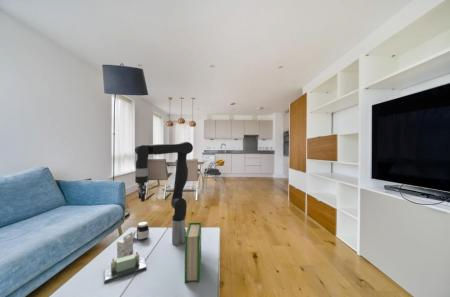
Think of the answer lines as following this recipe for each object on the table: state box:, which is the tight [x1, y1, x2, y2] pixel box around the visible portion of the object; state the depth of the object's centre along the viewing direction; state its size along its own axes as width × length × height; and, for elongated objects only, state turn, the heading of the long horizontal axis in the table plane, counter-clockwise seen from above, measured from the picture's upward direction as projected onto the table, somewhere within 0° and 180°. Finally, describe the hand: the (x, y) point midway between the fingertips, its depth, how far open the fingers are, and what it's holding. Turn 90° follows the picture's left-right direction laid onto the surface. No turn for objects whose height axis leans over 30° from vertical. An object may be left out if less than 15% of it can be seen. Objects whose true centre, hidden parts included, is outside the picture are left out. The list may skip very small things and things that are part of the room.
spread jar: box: [133, 221, 150, 241], centre depth 141 cm, size 12×11×12 cm
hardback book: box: [184, 222, 202, 284], centre depth 103 cm, size 18×7×24 cm, turn 4°
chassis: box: [103, 251, 147, 284], centre depth 104 cm, size 20×12×8 cm, turn 124°
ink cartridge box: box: [116, 231, 134, 259], centre depth 116 cm, size 9×5×15 cm, turn 168°
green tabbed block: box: [110, 253, 139, 272], centre depth 104 cm, size 14×4×5 cm, turn 124°
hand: (141, 199), depth 119 cm, fingers open, 8 cm apart
